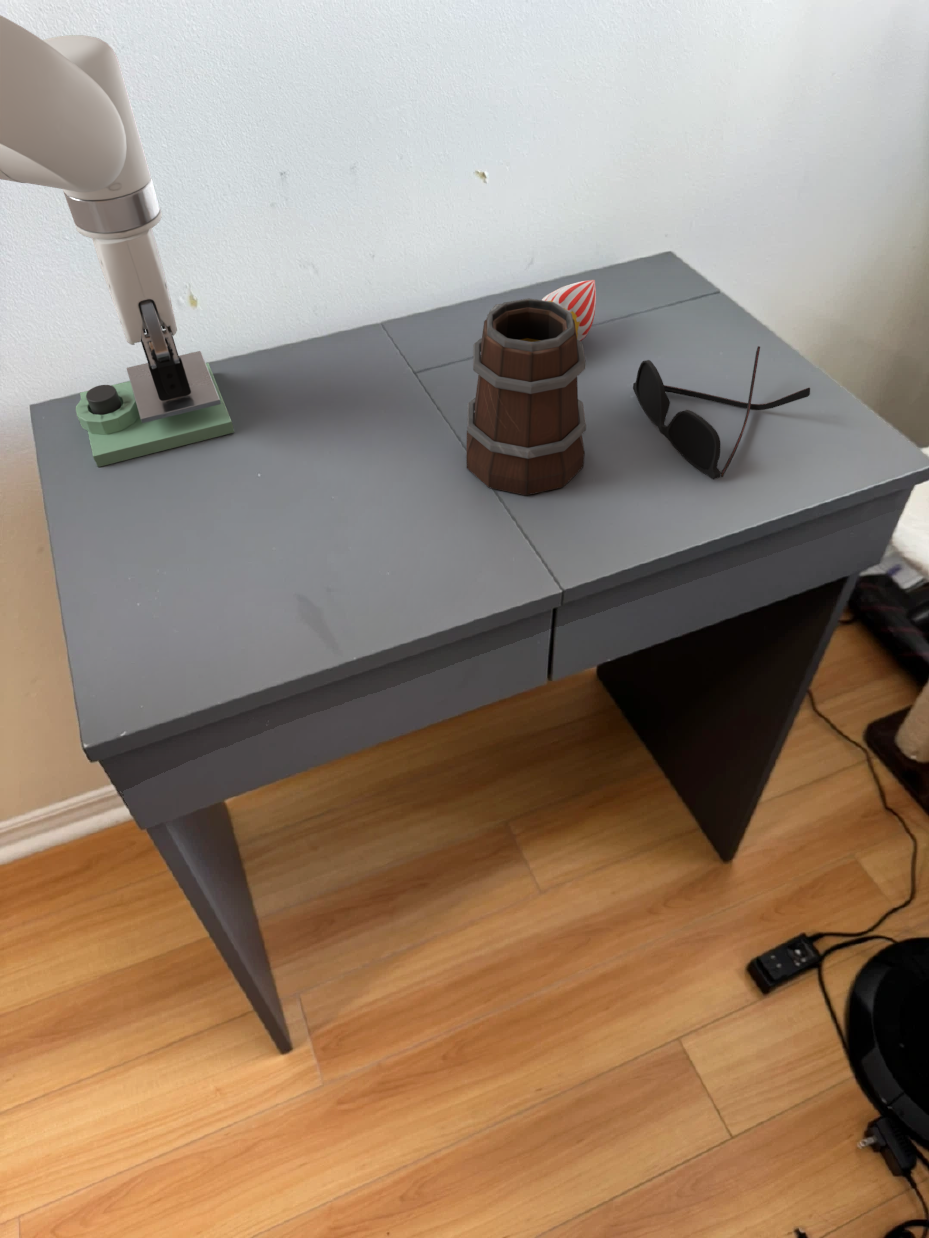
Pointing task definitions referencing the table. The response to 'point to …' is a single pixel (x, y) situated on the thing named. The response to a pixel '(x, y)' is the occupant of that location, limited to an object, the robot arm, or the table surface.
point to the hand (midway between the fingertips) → (170, 380)
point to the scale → (147, 427)
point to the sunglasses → (694, 418)
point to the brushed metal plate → (156, 409)
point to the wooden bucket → (526, 399)
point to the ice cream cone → (577, 304)
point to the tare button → (103, 399)
